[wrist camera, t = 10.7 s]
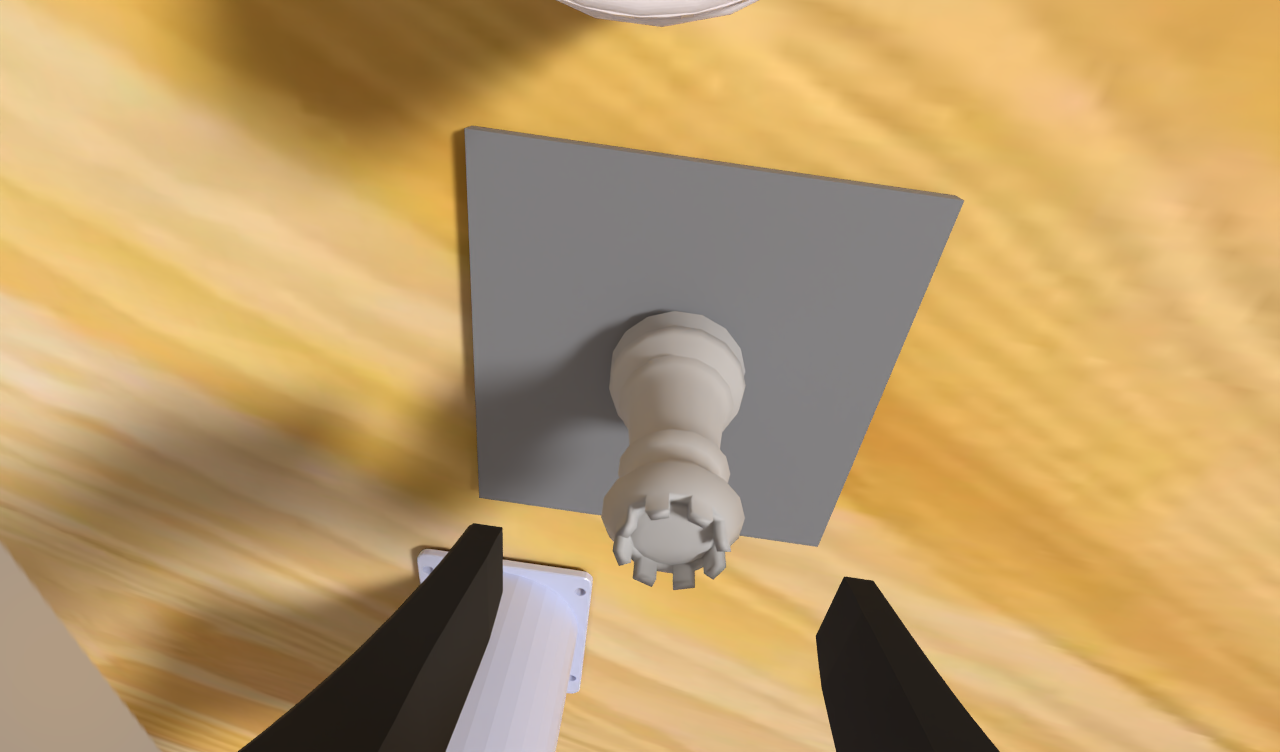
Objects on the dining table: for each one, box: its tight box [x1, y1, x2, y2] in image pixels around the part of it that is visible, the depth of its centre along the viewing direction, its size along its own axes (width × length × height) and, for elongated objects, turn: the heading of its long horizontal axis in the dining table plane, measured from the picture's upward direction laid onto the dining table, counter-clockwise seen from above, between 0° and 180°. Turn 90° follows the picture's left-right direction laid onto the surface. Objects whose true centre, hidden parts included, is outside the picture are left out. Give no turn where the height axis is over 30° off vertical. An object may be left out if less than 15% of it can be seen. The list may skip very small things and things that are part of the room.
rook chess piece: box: [601, 311, 746, 590], centre depth 15 cm, size 4×4×8 cm
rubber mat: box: [465, 126, 964, 547], centre depth 19 cm, size 14×14×1 cm
